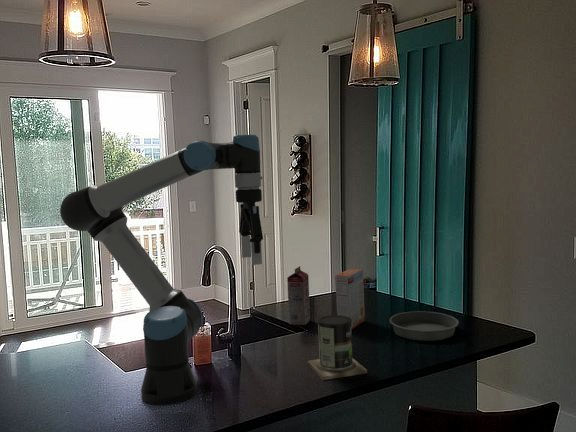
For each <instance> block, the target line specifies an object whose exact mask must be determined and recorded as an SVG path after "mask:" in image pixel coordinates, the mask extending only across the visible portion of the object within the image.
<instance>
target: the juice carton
mask: <svg viewBox="0 0 576 432" xmlns="http://www.w3.org/2000/svg"><path fill="white" fill-rule="evenodd" d="M286 279H287V280H286V281H287V306H288V324H289V325H297V326H298V325H301V326H306V325H307V324H308V323H309V322H310V321H311V313H310V311H311V309H310V282H309V274H308V273H307V272H304V271H303V270H302V269H301V266H298V267H296V268H294V272H293V273H292V274H291V275H288V277H287V278H286Z"/></svg>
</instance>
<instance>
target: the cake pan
mask: <svg viewBox="0 0 576 432" xmlns="http://www.w3.org/2000/svg"><path fill="white" fill-rule="evenodd" d="M389 324H391V325H392V328H393V331H394V333H395V335H397V336H398V337H401V338H403V339H404V338H405V339H408V340H413V341H430V342H431V341H441V340H445V339H446V340H447V339H449V338H451V337H453V335H454V334H455V331H456V327H458V325H459V324H460V322H459V319H457V318H456V317H454V316H453V315H449V314H446V313H441V312H436V311H425V310H423V311H422V310H419V311H417V310H416V311H407V312H406V311H405V312H399V313H397V314H393V315H392V316H391V317H390V318H389Z"/></svg>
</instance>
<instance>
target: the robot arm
mask: <svg viewBox="0 0 576 432" xmlns="http://www.w3.org/2000/svg"><path fill="white" fill-rule="evenodd" d="M232 138H233V139H232V142H216V143H215V142H209V141H208V142H207V141H205V140H195V141H193V142H192V141H191V142H190V143H188V145H187V146H186V147H183V148H181V149H180V150H177V151H175V152H172V153H170V154H168V155H165V156H163V157H162V158H159V159H157V160H155V161H154V160H153V161H152V162H151V163H150V162H149V163H148V164H146V165H143V166H141V167H138V168H137V169H134V170H132V171H130V172H127V173H126V174H123V175H121V176H119V177H117V178H114V179H112V180H110V181H107V182H105V183H103V184H101V185H99V186H97V185H95V184H92V185H89V186H87V187H84V188H82V189H80V190H75V191H72V192H71V193H68V194H67V195H66V196H65V197H64V198H63V200H62V202H61V204H60V208H59V209H60V210H59V214H60V218H61V220H62V222H63V223H64V224H65V225H66V226H67V228H70V229H71V230H74V231H77V232H87V233H88V234H89V235H90V237H91V238H92V239H93V241H95V242H101V243H102V244H103V245H104V247H105V248H106V249H107V251H108V252H109V254H110V255H111V256H112V257H113V258H114V260H115V262H116V263H117V264H118V265H119V267H120V268H121V269H122V271H123V272H124V273H125V275H126V276H127V278H128V279H129V280H130V282H131V283H132V285H134V287H135V288H136V289H137V291H138V292H139V294H140V295H141V297H143V299H144V300H145V301H146V303H147V304H148V306H149V311H148V312H147V313H146V314H145V315H144V318H143V325H142V328H143V329H142V332H143V340H144V352H145V353H144V354H145V355H144V356H145V367H146V368H145V373H144V377H143V380H142V385H141V388H140V390H141V392H140V393H141V394H140V395H141V399H142V401H143V402H145V403H147V404H150V405H155V406H156V405H157V406H158V405H159V406H166V405H168V406H169V405H173V404H178V403H181V402H185V401H188V400H189V399H191V398H192V397H194V396H195V395H196V393H197V391H198V387H197V385H198V384H197V381H196V377H195V376H194V373H193V370H192V368H191V366H190V361H189V359H190V357H189V343H190V341H191V340H192V338H193V337H195V336H196V335H197V334H198V332H199V331H200V329H201V326H202V324H203V312H202V309H201V307H200V305H199V304H198V303H197V302H196V301H195V300H193V299H191V298H187V296H186V295H185V293H184V292H183V291H182V290H181V289H175V288H174V287H173V285H172V284H171V283H170V282H169V281H168V279H167V278H166V277H165V275H164V274H163V273H162V271H161V270H160V269H159V267H158V265H156V263H155V261H153V259H152V258H151V256H150V255H149V254H148V252H147V251H146V250H145V248H144V247H143V245H142V244H141V243H140V242H139V240H138V239H137V238H136V237H135V235H134V233H133V232H132V230H130V228H129V227H128V224H127V223H128V222H127V221H128V216H127V215H126V214H125V213H124V211H123V207H124V206H127V205H128V204H131V203H133V202H136V201H138V200H140V199H143V198H144V197H147V196H149V195H151V194H153V193H156V192H158V191H160V190H162V189H165V188H166V187H170V186H172V185H174V184H176V183H179V182H180V181H183V180H185V179H188V178H189V177H191V176H195V175H196V174H199V173H201V172H203V171H208V170H225V169H226V170H227V169H230V170H231V169H234V186H235V188H236V189H235V202H236V203H238V204H240V205H239V206H240V207H239V208H240V209H239V210H240V211H239V212H240V215H239V227H238V229H239V230H238V232H239V233H240V236H241V237H240V242H241V258H242V259H244V258H251V265H252V266H256V265H262V264H263V260H262V258H263V256H262V241H263V240H264V235H263V229H262V223H261V217H260V206H259V205H256V203H260V202H262V201H263V197H262V195H263V194H262V189H261V188H260V187H261V186H262V180H263V176H262V175H261V149H260V141H259V139H260V138H259V136H258V135H256V134H236V135H234V136H233V137H232Z"/></svg>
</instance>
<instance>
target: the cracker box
mask: <svg viewBox="0 0 576 432" xmlns="http://www.w3.org/2000/svg"><path fill="white" fill-rule="evenodd" d="M334 278H335V279H334V280H335V299H336V300H335V301H336V315H340V316H346V317H349V318H351V320H352V322H351V331H352V330H354V329H355V328H357V327H359V325H361V324H362V323H363V322H365V321H366V312H365V291H364V289H365V288H364V269H361V268H348V269H346V270H345V271H342V272H340V273H337V274H336V275H335V277H334Z"/></svg>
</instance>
